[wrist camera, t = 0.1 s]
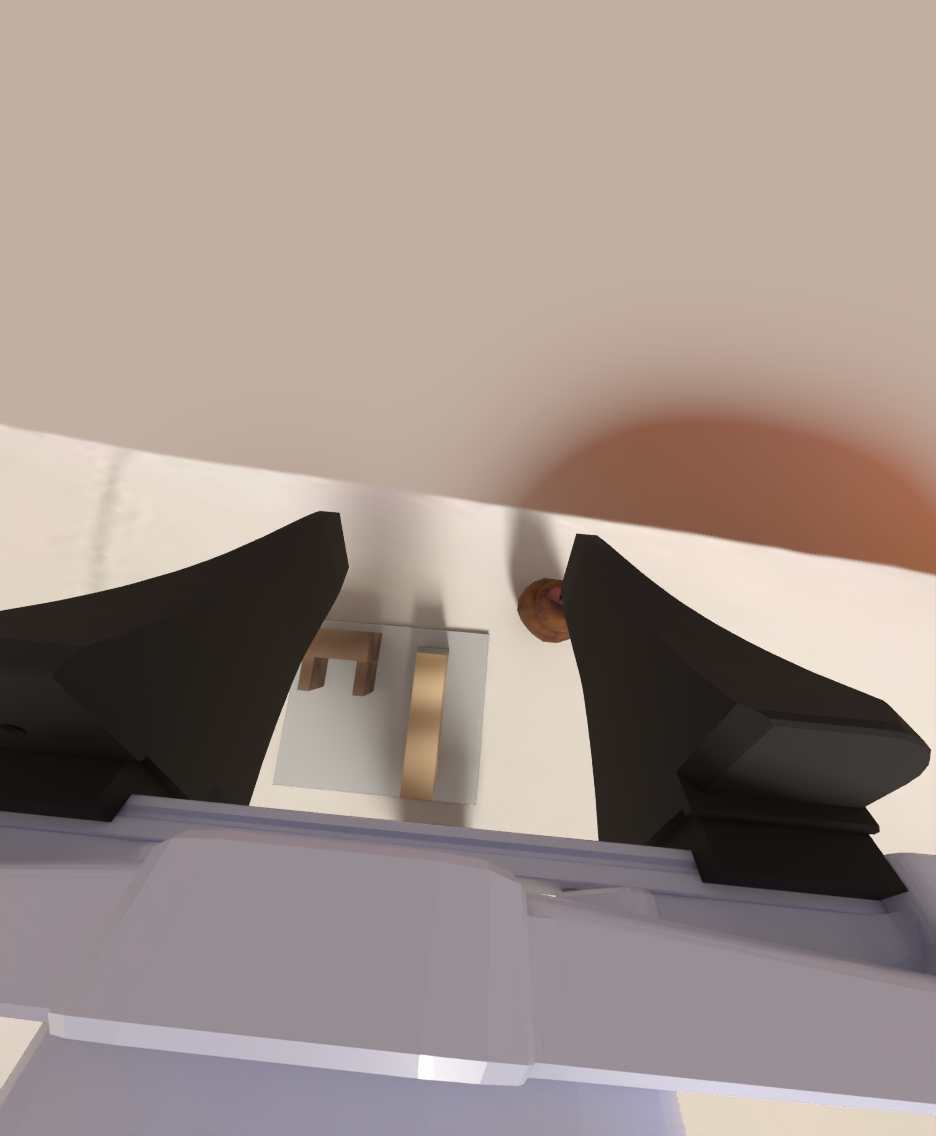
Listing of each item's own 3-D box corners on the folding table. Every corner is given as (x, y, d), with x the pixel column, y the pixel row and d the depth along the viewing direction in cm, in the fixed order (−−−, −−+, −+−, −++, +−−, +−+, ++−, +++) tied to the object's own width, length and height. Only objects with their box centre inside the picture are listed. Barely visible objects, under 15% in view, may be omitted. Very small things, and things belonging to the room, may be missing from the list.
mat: (475, 803, 38) (475, 805, 38) (274, 783, 38) (272, 784, 38) (488, 634, 42) (489, 634, 41) (305, 617, 42) (303, 617, 42)
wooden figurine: (504, 606, 42) (523, 588, 28) (540, 577, 43) (577, 544, 29) (541, 652, 41) (582, 657, 27) (577, 620, 42) (636, 609, 27)
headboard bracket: (374, 691, 40) (361, 698, 35) (313, 685, 40) (291, 691, 35) (382, 633, 41) (370, 632, 37) (323, 627, 42) (303, 625, 37)
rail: (436, 780, 38) (431, 800, 33) (408, 777, 38) (399, 797, 33) (449, 648, 41) (446, 649, 36) (423, 646, 41) (417, 646, 36)
